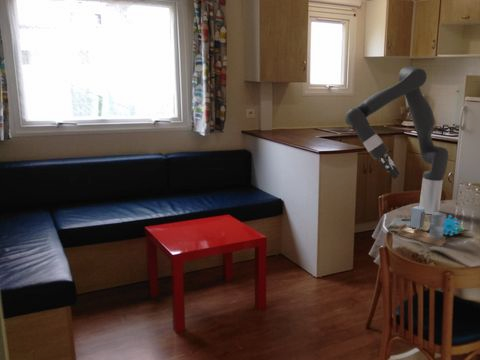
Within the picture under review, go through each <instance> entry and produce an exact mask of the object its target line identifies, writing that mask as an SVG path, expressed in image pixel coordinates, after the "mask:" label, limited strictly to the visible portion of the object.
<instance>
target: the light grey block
mask: <svg viewBox="0 0 480 360" xmlns="http://www.w3.org/2000/svg"><path fill="white" fill-rule="evenodd" d="M425 215H426V214H425V208H423V207H419V205H418V206H417V205H415V206H414V207H412V208H411V216H410V226H413V227H416V228H418V227H421V228H422V227H424V222H425ZM410 226H409V227H410ZM422 229H423V228H422Z"/></svg>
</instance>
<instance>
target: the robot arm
mask: <svg viewBox="0 0 480 360" xmlns="http://www.w3.org/2000/svg"><path fill="white" fill-rule="evenodd" d="M426 81H427V72H426V71H425V70H424V69H423V68H420V67H416V66H412V65H407V66H403V67H402V68H401V69H400V71H399V73H398V82H397V83H395V84H393V85H391V86H389V87H387V88H383V89H380V90H379V91H377V92H375V93H374V94H372V95H370V96H369V97H368V98H366V99H364V100H363V102H361V103H360V104H359V105H357V106H356V107H352V108H350V109H349V110H347V112H346V114H345V117H344V121H345V123H346V124H347V125H348V126H351V127H353V128H354V129H355V131H356V135H357V137H358V138H359V139H360V141H361V143H362V144H363V146H364V147H365V148H366V151H367V152H368V153H369V154H370V156H371V157H372V159H373V160H377V159H379V163H380V164H381V166H382V167H383V168H384V169H385V172H387V173H389V174H390V176H391V177H392V179H393V180H395V179H398V177H399V175H400V171H399V170H398V168H397V167H396V164H395V161H393V160H392V159H391V157H390V156H389V154H388V152H389V148H388V147H387V145H386V144H385V143H384V141H383V140H382V139H381V137H380V136H379V135H378V134H377V132H376V131H375V129H374V128H373V127H372V126H371V125H370V122H369V121H368V117H369V116H371V115H372V114H374V113H376V112H377V111H380V110H381V109H382V108H383V107H385V106H386V105H388V104H390V103H391V102H393V101H395V100H397V99H399V98H401V97H403V96H405V98H406V103H407V105H408V109H409V113H410V115H411V119H412V123H413V126H414V129H415V132H416V136H417V139H418V144H419V151H420V155H421V159H422V160H423V162H424V163H425V164H428V165H431V168H430V170H425V171H423V173H422V181H421V191H420V198H419V205H418V207H423V208H425V215H432V213H434V212H440V204H441V198H442V189H443V181H444V177H445V174H446V171H447V167H448V162H449V151H448V150H447V148H445V147H443V146H438V145H435V144H434V142H433V138H432V133H433V130H434V128H435V123H436V122H435V121H436V119H435V116H434V114H433V113H434V112H433V110H432V107H431V106H430V103H429V102H428V100H427V99H426V98H425V96H424V95H423V93H422V91H421V89H420V87H422V86H424V84H425V83H426Z"/></svg>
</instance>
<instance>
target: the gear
mask: <svg viewBox="0 0 480 360" xmlns="http://www.w3.org/2000/svg"><path fill="white" fill-rule="evenodd" d="M460 224H461V222H460V221H458V218H457V217H453V216H452V215H451V214H449V215H448V218H447V215H446V216H445V224H444V231H443V235H444V234H445V235H448V233H449V232H450V233H449V236H450V237H453V236H454V235H457V234H459V233H460V232H461V231H463V230H464V227H463V226H461V225H460ZM445 235H444V236H445Z"/></svg>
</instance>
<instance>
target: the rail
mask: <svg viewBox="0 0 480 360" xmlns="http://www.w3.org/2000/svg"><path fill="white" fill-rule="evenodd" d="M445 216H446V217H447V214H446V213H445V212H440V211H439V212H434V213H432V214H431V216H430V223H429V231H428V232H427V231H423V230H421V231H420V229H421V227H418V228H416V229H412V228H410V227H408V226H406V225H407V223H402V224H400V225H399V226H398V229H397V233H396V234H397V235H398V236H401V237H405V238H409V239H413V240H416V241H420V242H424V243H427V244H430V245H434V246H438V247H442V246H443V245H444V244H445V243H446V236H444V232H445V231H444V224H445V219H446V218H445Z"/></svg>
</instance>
